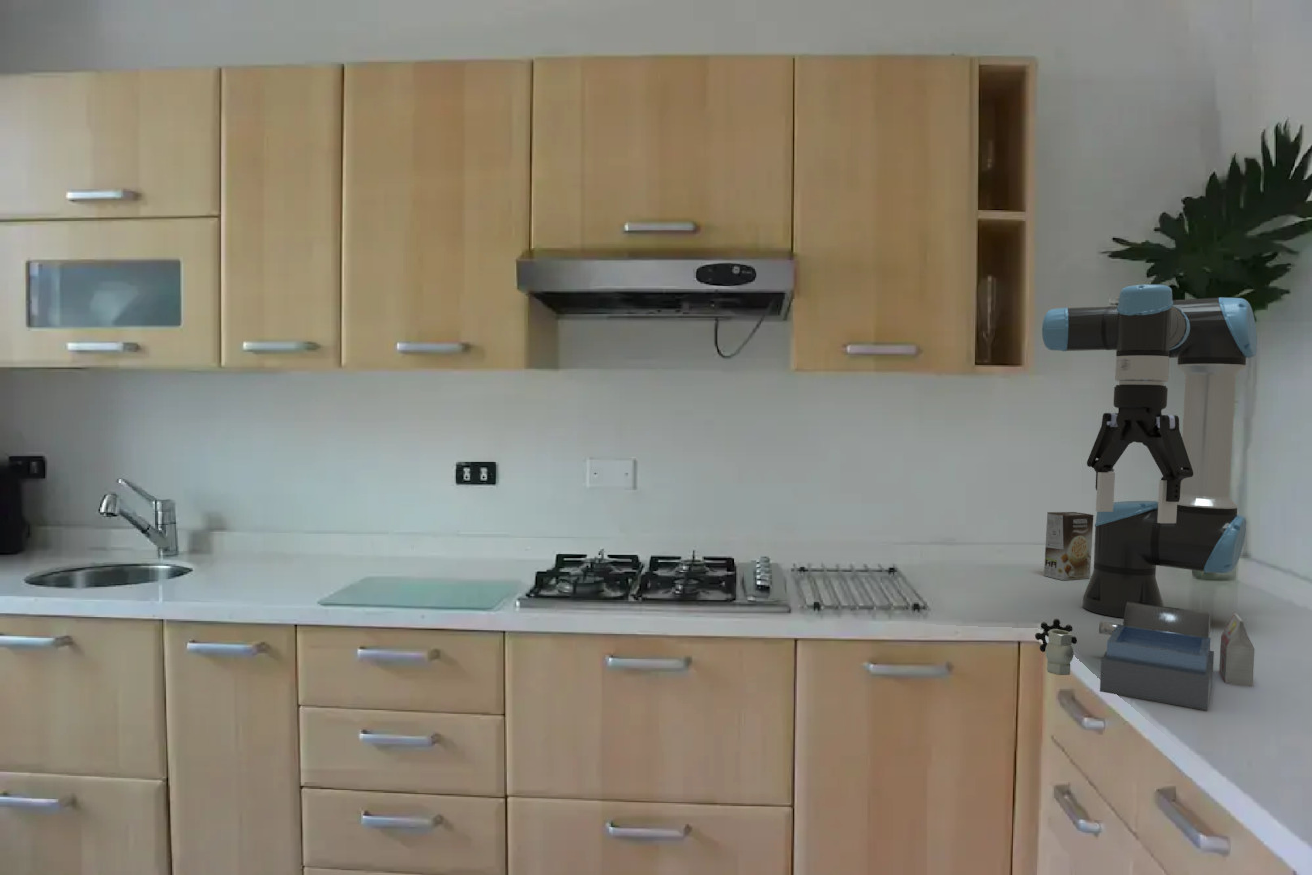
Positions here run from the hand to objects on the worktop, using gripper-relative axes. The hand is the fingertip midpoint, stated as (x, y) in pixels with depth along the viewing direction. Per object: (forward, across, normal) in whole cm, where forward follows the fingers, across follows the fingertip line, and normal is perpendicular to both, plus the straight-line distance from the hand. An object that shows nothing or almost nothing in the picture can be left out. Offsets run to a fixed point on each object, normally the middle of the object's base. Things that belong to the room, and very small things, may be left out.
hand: (1134, 517), depth 147 cm
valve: (+26, -7, -8) cm, 28 cm away
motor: (+26, +1, +3) cm, 26 cm away
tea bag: (+26, +4, +17) cm, 31 cm away
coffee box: (+25, -73, +44) cm, 89 cm away
